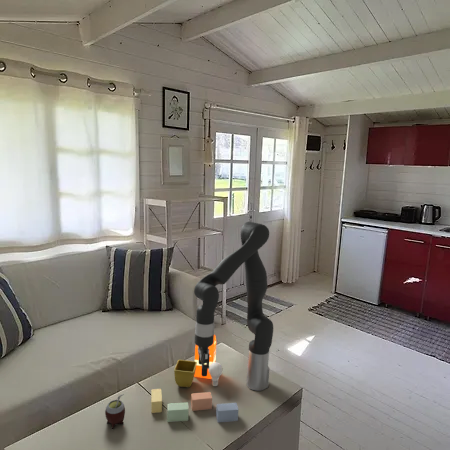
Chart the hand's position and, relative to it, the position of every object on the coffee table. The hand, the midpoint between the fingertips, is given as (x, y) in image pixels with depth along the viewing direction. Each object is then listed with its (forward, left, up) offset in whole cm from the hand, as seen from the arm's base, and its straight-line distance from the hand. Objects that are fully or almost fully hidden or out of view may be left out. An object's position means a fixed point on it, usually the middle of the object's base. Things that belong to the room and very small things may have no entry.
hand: (202, 369), depth 142 cm
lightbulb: (-8, -13, -17) cm, 23 cm away
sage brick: (+10, +5, -17) cm, 20 cm away
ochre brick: (+18, -3, -17) cm, 25 cm away
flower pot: (+5, -16, -17) cm, 24 cm away
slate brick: (-9, +8, -17) cm, 21 cm away
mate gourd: (+33, +5, -17) cm, 37 cm away
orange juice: (-5, -23, -17) cm, 29 cm away
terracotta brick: (0, 0, -17) cm, 17 cm away
